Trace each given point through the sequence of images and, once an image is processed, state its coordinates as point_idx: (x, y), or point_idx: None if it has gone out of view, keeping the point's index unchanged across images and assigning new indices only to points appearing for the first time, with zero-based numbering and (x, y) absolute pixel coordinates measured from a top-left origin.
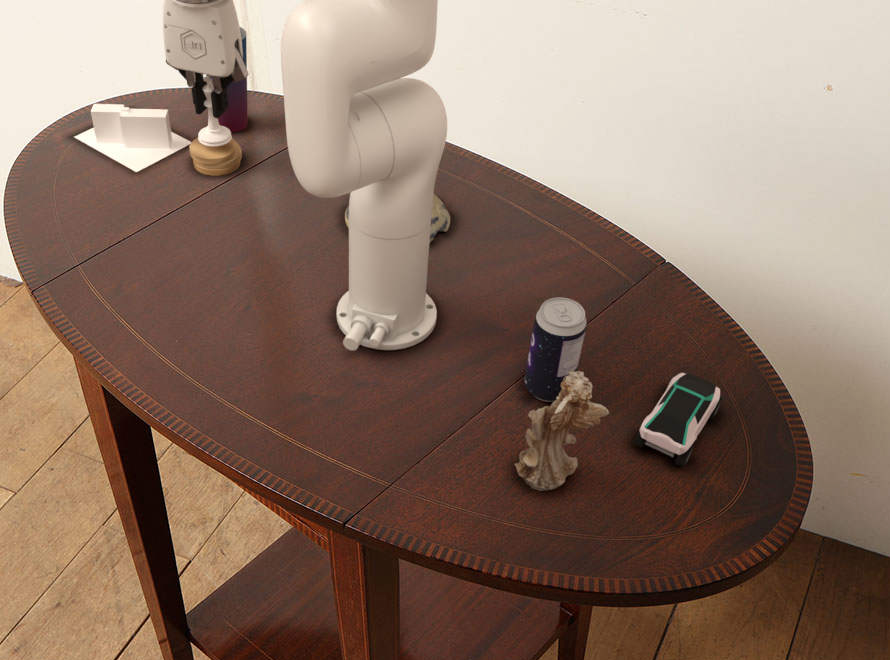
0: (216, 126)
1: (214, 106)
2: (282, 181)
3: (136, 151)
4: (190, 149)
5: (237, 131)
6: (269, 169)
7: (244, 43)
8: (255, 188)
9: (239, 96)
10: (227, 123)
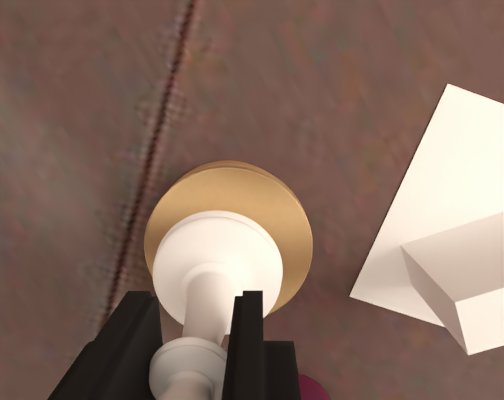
0: (189, 290)
1: (111, 333)
2: (8, 217)
3: (496, 192)
4: (293, 201)
5: None
6: (76, 257)
7: None
8: (54, 154)
9: None
10: None
